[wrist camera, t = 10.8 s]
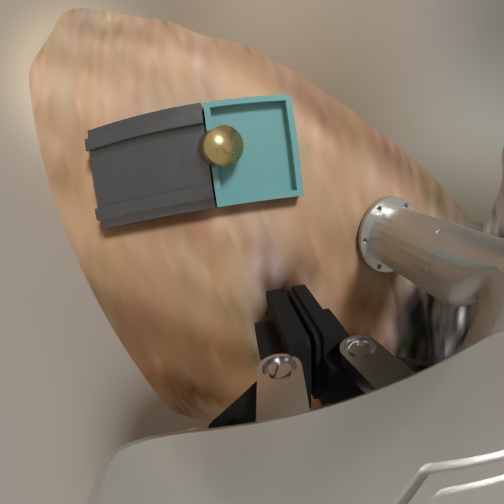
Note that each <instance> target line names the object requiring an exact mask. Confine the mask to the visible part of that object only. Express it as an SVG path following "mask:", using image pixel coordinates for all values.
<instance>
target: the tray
mask: <svg viewBox="0 0 504 504" xmlns="http://www.w3.org/2000/svg"><path fill="white" fill-rule="evenodd" d="M203 107H204V115H205V123H206V131H209V130H211V129H213V128H215V127H218V126H221V125H228V126H231V127H233V128H234V129H236V130H237V131H238V132H239V134H240V135H241V137H242V140H243V145H244V148H243V153H242V156H241V157H240V159H239V160H238V161H237V162H236V163H234V164H231V165H226V166H221V167H213V166H211V168H212V175H213V182H214V188H215V195H216V202H217V207H223V206H229V205H236V204H242V203H249V202H256V201H264V200H271V199H279V198H287V197H295V196H304V195H303V185H302V176H301V167H300V158H299V150H298V142H297V135H296V128H295V121H294V114H293V107H292V101H291V95H271V96H256V97H245V98H235V99H226V100H218V101H211V102H205V103H203Z"/></svg>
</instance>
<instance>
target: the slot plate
mask: <svg viewBox="0 0 504 504" xmlns="http://www.w3.org/2000/svg"><path fill="white" fill-rule="evenodd" d="M204 133H205V127H204V120H203V112H202V105H201V103H196V104H190V105H185V106H179V107H174V108H169V109H165V110H160V111H156V112H151V113H147V114H143V115H139V116H135V117H132V118H128V119H124V120H121V121H117V122H114V123H111V124H107V125H104V126H101V127H98V128H95V129H92V130H89V131H88V139H85V146H86V151H90V157H91V165H92V173H93V180H94V186H95V192H96V198H97V203H98V208H97V209H95V213H96V218H97V221H99V220H101V223H102V228H103V229H106V228H110V227H115V226H120V225H124V224H129V223H134V222H139V221H144V220H149V219H154V218H160V217H165V216H170V215H176V214H182V213H187V212H193V211H199V210H205V209H211V208H215V207H216V206H215V199H214V192H213V186H212V179H211V172H210V165H208V164H206V163H205V162H204V161H203V160H202V158H201V156H200V154H199V150H198V144H199V140H200V138H201V136H202V135H203V134H204Z"/></svg>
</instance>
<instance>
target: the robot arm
mask: <svg viewBox="0 0 504 504" xmlns="http://www.w3.org/2000/svg"><path fill="white" fill-rule="evenodd" d="M363 239H364V240H363ZM358 243H359V249H360V252H361V255H362V257H363V259H364V261H365V262H366V263H367V264H368V265H369V266H370V267H372V268H373V269H375V270H376V271H379V272H393V271H396V272H397V273H399V274H400V275H402V276H403V277H405V278H406V279H408V280H410V281H411V282H413V283H414V284H416V285H417V286H419V287H420V288H422V289H423V290H425V291H426V292H428V293H429V294H431V295H432V296H434V297H435V298H437V299H438V300H440V301H441V302H443V303H445V304H447V305H449V306H455V307H460V306H466V305H469V304H472V303H475V302H477V301H478V307H477V310H476V313H475V315H474V319H473V322H472V324H471V326H470V329H469V331H468V334H467V336H466V338H465V340H464V343H463V345H462V347H461V349H460V351H459V352H458V353H456V354H454V355H452V356H450V357H448V358H446V359H444V360H442V361H439V362H436V364H433V363H431V362H427V361H421V360H415V359H409V358H404V357H399V356H395V355H393V354H392V353H391V352H390V351H389V350H387V349H386V348H385V347H384V346H383V345H381V344H380V343H379V342H378V341H377V340H375V339H374V338H372V337H369V336H365V335H354V336H351V337H350V335H349V334H348V333H347V331H346V330H345V329H344V327H343V326H342V325H341V324H340V322H339V321H338V320H337V318H336V317H335V316H334V314H333V313H332V312H331V311H330V310H329V309H322V307H321V306H320V305H319V303H318V302H317V301H316V299H315V298H314V297H313V295H312V294H311V293H310V291H309V290H308V289H307V287H306V286H305V285H299V286H293V287H292V288H291V290H290V291H288V292H287V295H288V297H287V295H286V294H285V292H280V290H279V289H277V290H271V291H266V297H267V305H268V314H269V321H263V322H258V323H255V331H256V338H257V344H258V349H259V354H260V359H261V362H260V363H259V365H258V368H257V381H256V382H255V383H254V384H253V385H252V386H251V387H250V388H249V389H248V390H247V391H246V392H245V393H244V394H242V395H241V396H240V397H239V398H238V399H237V400H236V401H235V402H234V403H233V404H231V405H230V406H229V407H228V408H227V409H226V410H225V411H224V412H222V413H221V414H220V415H219V416H218V417H217V418H215V419H214V420H213V421H212V422H211V424H210V425H209V427H208V428H205V429H199V428H198V427H196V428H192V429H189V430H184V431H180V432H173V433H166V434H161V435H156V436H151V437H146V438H143V439H140V440H136V441H133V442H130V443H127V444H125V445H123V446H121V447H118V448H116V449H115V450H114V451H112V452H111V453H110V454H109V455H108V456H107V457H106V458H105V459H104V461H103V462H102V464H101V466H100V468H99V470H98V472H97V474H96V477H95V479H94V483H93V485H92V489H91V492H90V496H89V500H88V504H504V238H500V237H496V236H492V235H488V234H485V233H482V232H479V231H475V230H472V229H469V228H466V227H463V226H460V225H457V224H454V223H451V222H448V221H444V220H441V219H438V218H435V217H431V216H428V215H424V214H421V213H417V212H416V210H415V209H414V207H413V206H412V205H411V204H410V203H409V202H408V201H406V200H404V199H402V198H398V197H386V198H383V199H380V200H379V201H377V202H375V203H374V204H373V205H372V206H371V207H370V208H369V210H368V211H367V212H366V214H365V216H364V218H363V220H362V222H361V225H360V229H359V238H358ZM311 393H312V395H313V398H314V399H319V401H320V403H321V405H326V404H329V403H331V404H330V405H327V406H323V407H320V408H316V409H312V410H310V408H311Z"/></svg>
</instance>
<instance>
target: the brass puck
mask: <svg viewBox="0 0 504 504" xmlns="http://www.w3.org/2000/svg"><path fill="white" fill-rule="evenodd" d="M243 148H244V145H243V140H242V137H241V135H240V134H239V132H238V131H237V130H236V129H234V128H233V127H231V126H228V125H221V126H218V127H215V128H213V129H211V130H209V131H207V132H205V133H204V134H203V135H202V136H201V138H200V140H199V144H198V150H199V154H200V156H201V158H202V160H203V161H204V162H205V163H206V164H208V165H210V166H213V167H221V166H226V165H231V164H234V163H236V162H237V161H238V160H239V159H240V157H241V156H242V153H243Z"/></svg>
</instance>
